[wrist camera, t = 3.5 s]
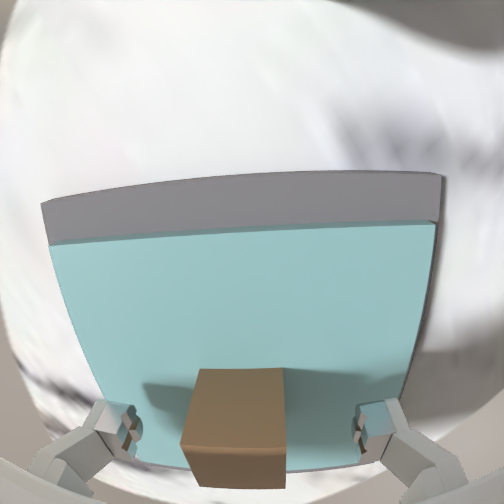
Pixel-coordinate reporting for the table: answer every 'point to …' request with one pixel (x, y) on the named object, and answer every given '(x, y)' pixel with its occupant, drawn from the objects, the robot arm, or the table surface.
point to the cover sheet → (248, 337)
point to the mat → (249, 209)
